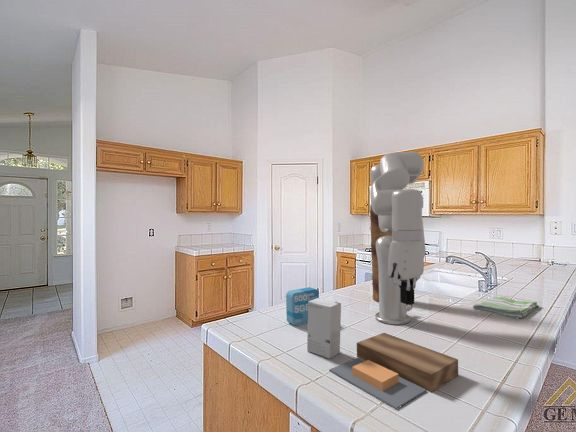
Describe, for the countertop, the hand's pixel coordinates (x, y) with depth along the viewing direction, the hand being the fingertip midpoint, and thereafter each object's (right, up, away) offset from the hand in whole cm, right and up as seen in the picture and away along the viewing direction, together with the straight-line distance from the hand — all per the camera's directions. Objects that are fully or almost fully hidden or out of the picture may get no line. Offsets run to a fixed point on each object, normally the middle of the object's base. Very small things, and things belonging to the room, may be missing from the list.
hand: (407, 303), depth 85 cm
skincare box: (-22, -16, +7) cm, 28 cm away
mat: (-11, -16, -9) cm, 22 cm away
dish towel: (+58, -15, +44) cm, 74 cm away
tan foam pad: (-11, -14, -9) cm, 20 cm away
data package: (-27, -16, +33) cm, 45 cm away
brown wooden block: (-2, -16, -2) cm, 16 cm away
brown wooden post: (+12, -15, +60) cm, 63 cm away
